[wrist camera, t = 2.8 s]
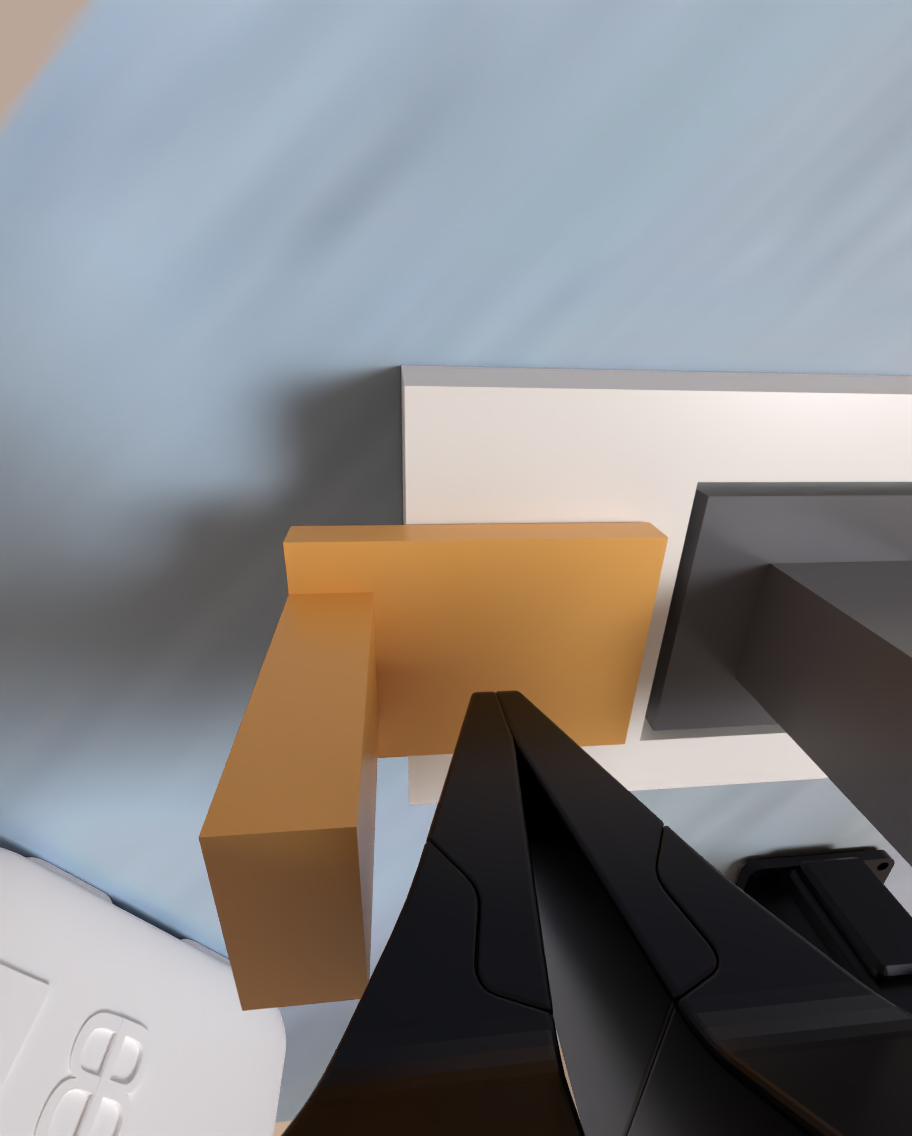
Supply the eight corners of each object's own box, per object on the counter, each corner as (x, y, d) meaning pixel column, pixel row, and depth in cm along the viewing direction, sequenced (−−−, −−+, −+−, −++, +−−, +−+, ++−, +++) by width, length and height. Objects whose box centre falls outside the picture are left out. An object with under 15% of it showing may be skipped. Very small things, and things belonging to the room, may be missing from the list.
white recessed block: (814, 683, 19) (915, 771, 15) (406, 701, 17) (409, 805, 13) (931, 376, 14) (1111, 398, 11) (401, 365, 13) (403, 386, 9)
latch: (611, 719, 13) (761, 997, 8) (313, 735, 12) (252, 1054, 7) (649, 522, 11) (893, 720, 6) (290, 525, 10) (179, 758, 5)
